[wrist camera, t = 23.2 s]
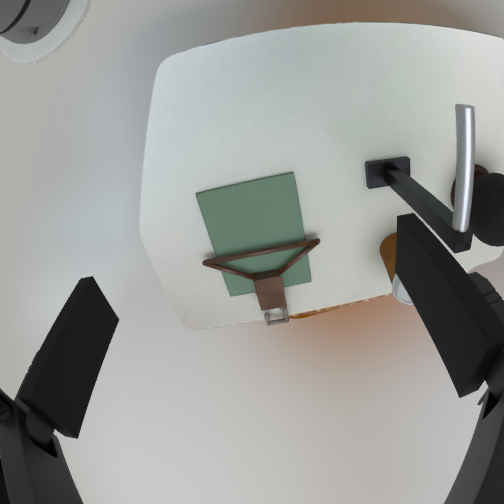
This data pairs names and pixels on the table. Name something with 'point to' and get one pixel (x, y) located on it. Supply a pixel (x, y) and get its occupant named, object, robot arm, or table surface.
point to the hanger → (266, 275)
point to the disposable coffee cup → (393, 268)
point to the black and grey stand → (423, 202)
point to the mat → (256, 228)
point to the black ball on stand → (486, 206)
